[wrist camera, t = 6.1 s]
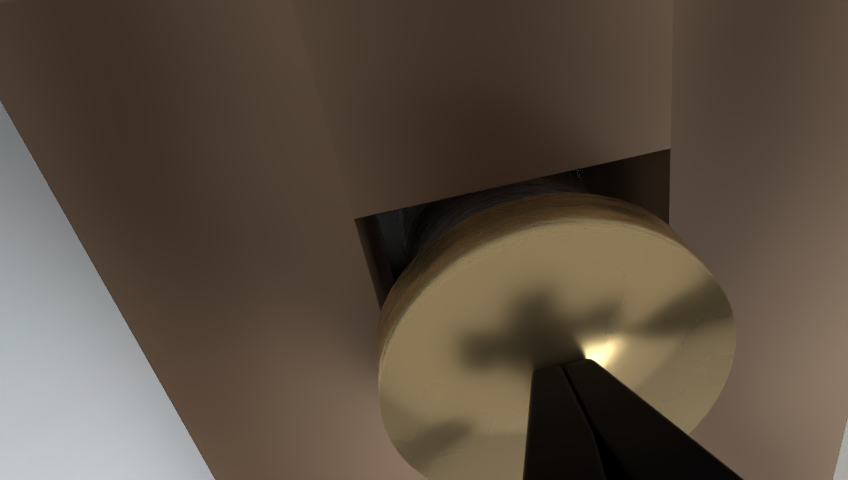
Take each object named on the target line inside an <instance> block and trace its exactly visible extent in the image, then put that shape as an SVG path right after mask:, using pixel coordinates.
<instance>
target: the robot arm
mask: <svg viewBox="0 0 848 480" xmlns="http://www.w3.org/2000/svg"><path fill="white" fill-rule="evenodd" d="M523 480H744V479H743V478H742V477H740V476H739V475H738V474H737V473H735V472H734V471H733V470H732V469H730V468H729V467H728V466H726V465H725V464H724V463H723V462H721V461H720V460H719V459H718V458H716V457H715V456H714V455H713V454H711V453H710V452H709V451H708V450H706V449H705V448H704V447H703V446H701V445H700V444H699V443H698V442H696V441H695V440H694V439H693V438H691V437H690V436H689V435H687V434H686V433H685V432H684V431H682V430H681V429H680V428H679V427H677V426H676V425H675V424H674V423H672V422H671V421H670V420H669V419H667V418H666V417H665V416H664V415H662V414H661V413H660V412H659V411H657V410H656V409H655V408H653V407H652V406H651V405H650V404H648V403H647V402H646V401H645V400H643V399H642V398H641V397H640V396H638V395H637V394H636V393H635V392H633V391H632V390H631V389H630V388H628V387H627V386H626V385H625V384H623V383H622V382H621V381H620V380H618V379H617V378H616V377H614V376H613V375H612V374H611V373H609V372H608V371H607V370H606V369H604V368H603V367H602V366H601V365H599V364H598V363H597V362H596V361H594V360H592V359H583V360H579V361H574V362H570V363H566V364H565V365H564V366H563V367H562V368H561V367H560V366H558V365H557V366H551V367H547V368H542V369H538V370H535V371H534V372H533V373H532V378H531V389H530V401H529V412H528V424H527V435H526V447H525V458H524V469H523Z"/></svg>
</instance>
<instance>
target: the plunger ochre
mask: <svg viewBox="0 0 848 480" xmlns="http://www.w3.org/2000/svg"><path fill="white" fill-rule="evenodd" d="M398 213H399V219H400V225H401V231H402V237H403V242H404V248H405V254H406V260H407V267H406V268H405V269H404V270H403V272H402V273H401V275H400V276H399V278H398V279H397V281H396V282H395V284H394V285H393V287H392V288H391V290H390V292H389V294H388V296H387V299H386V301H385V303H384V305H383V307H382V311H381V314H380V317H379V320H378V324H377V331H376V338H375V353H376V368H377V380H378V392H379V404H380V411H381V416H382V420H383V425H384V427H385V429H386V432H387V434H388V436H389V439H390V441H391V442H392V444H393V445H394V447H395V448H396V450H397V451H398V453H399V454H400V455H401V456H402V457H403V458H404V459H405V460H406V461H407V463H408V464H409V465H410V466H412V467H413V468H414V469H415V470H417V471H418V472H419V473H421V474H422V475H423V476H425V477H426V478H428V479H430V480H523V469H524V458H525V447H526V435H527V424H528V412H529V401H530V389H531V378H532V373H533V372H534V371H535V370H538V369H542V368H547V367H551V366H557V365H558V366H560V367H561V368H562V367H563V366H564V365H565V364H566V363H570V362H574V361H579V360H583V359H592V360H594V361H596V362H597V363H598V364H599V365H601V366H602V367H603V368H604V369H606V370H607V371H608V372H609V373H611V374H612V375H613V376H614V377H616V378H617V379H618V380H620V381H621V382H622V383H623V384H625V385H626V386H627V387H628V388H630V389H631V390H632V391H633V392H635V393H636V394H637V395H638V396H640V397H641V398H642V399H643V400H645V401H646V402H647V403H648V404H650V405H651V406H652V407H653V408H655V409H656V410H657V411H659V412H660V413H661V414H662V415H664V416H665V417H666V418H667V419H669V420H670V421H671V422H672V423H674V424H675V425H676V426H677V427H679V428H680V429H681V430H682V431H684V432H685V433H686V434H687V435H688V434H689V433H690V432H691V431H692V430H693V429H694V428H695V427H696V426H697V425H698V424H699V423H700V421H701V420H702V419H703V418H704V417H705V415H706V414H707V413H708V412H709V410H710V409H711V407H712V406H713V404H714V403H715V401H716V400H717V398H718V397H719V395H720V393H721V391H722V389H723V387H724V385H725V383H726V381H727V378H728V376H729V373H730V370H731V367H732V364H733V359H734V353H735V348H736V327H735V322H734V316H733V311H732V309H731V306H730V304H729V301H728V298H727V296H726V294H725V293H724V291H723V290H722V288H721V286H720V285H719V283H718V282H717V280H716V279H715V278H714V277H713V275H712V274H711V273H710V272H709V271H708V269H707V268H706V267H705V266H704V265H703V263H702V262H701V261H700V260H699V259H698V257H697V256H696V255H695V254H694V252H693V251H692V250H691V249H690V248H689V246H688V245H687V244H686V243H685V242H684V240H683V239H682V238H681V237H680V236H679V235H678V234H677V233H676V232H675V231H674V230H673V228H672V227H671V226H669V225H668V224H667V223H666V222H664V221H663V220H662V219H660V218H659V217H658V216H656V215H655V214H653V213H651V212H649V211H647V210H645V209H644V208H642V207H640V206H638V205H635V204H632V203H630V202H627V201H624V200H621V199H618V198H614V197H609V196H604V195H599V194H591V193H589V191H588V190H587V189H586V187H585V186H584V184H583V183H582V181H581V180H580V178H579V177H578V175H577V174H576V172H575V171H574V170H571V171H567V172H562V173H558V174H553V175H549V176H544V177H540V178H535V179H531V180H527V181H522V182H518V183H513V184H509V185H504V186H500V187H495V188H491V189H486V190H482V191H477V192H473V193H468V194H464V195H459V196H455V197H450V198H446V199H441V200H437V201H432V202H428V203H423V204H419V205H414V206H410V207H405V208H401V209H398Z"/></svg>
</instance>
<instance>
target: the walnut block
mask: <svg viewBox="0 0 848 480" xmlns="http://www.w3.org/2000/svg"><path fill="white" fill-rule="evenodd" d="M0 100H1V102H2V104H3V106H4V107H5V109H6V111H7V113H8V114H9V116H10V118H11V120H12V121H13V123H14V125H15V127H16V129H17V130H18V132H19V134H20V136H21V137H22V139H23V141H24V143H25V144H26V146H27V148H28V150H29V151H30V153H31V155H32V157H33V159H34V160H35V162H36V164H37V166H38V167H39V169H40V171H41V173H42V174H43V176H44V178H45V180H46V181H47V183H48V185H49V187H50V189H51V190H52V192H53V194H54V196H55V197H56V199H57V201H58V203H59V204H60V206H61V208H62V210H63V212H64V213H65V215H66V217H67V219H68V220H69V222H70V224H71V226H72V227H73V229H74V231H75V233H76V234H77V236H78V238H79V240H80V242H81V243H82V245H83V247H84V249H85V250H86V252H87V254H88V256H89V257H90V259H91V261H92V263H93V264H94V266H95V268H96V270H97V272H98V273H99V275H100V277H101V279H102V280H103V282H104V284H105V286H106V287H107V289H108V291H109V293H110V294H111V296H112V298H113V300H114V302H115V303H116V305H117V307H118V309H119V310H120V312H121V314H122V316H123V317H124V319H125V321H126V323H127V324H128V326H129V328H130V330H131V332H132V333H133V335H134V337H135V339H136V340H137V342H138V344H139V346H140V347H141V349H142V351H143V353H144V355H145V356H146V358H147V360H148V362H149V363H150V365H151V367H152V369H153V370H154V372H155V374H156V376H157V377H158V379H159V381H160V383H161V385H162V386H163V388H164V390H165V392H166V393H167V395H168V397H169V399H170V400H171V402H172V404H173V406H174V407H175V409H176V411H177V413H178V415H179V416H180V418H181V420H182V422H183V423H184V425H185V427H186V429H187V430H188V432H189V434H190V436H191V437H192V439H193V441H194V443H195V445H196V446H197V448H198V450H199V452H200V453H201V455H202V457H203V459H204V460H205V462H206V464H207V466H208V468H209V469H210V471H211V473H212V475H213V476H214V478H215V480H430V479H428V478H426V477H425V476H423V475H422V474H421V473H419V472H418V471H417V470H415V469H414V468H413V467H412V466H410V465H409V464H408V463H407V461H406V460H405V459H404V458H403V457H402V456H401V455H400V454H399V453H398V451H397V450H396V448H395V447H394V445H393V444H392V442H391V441H390V439H389V436H388V434H387V432H386V429H385V427H384V425H383V420H382V416H381V411H380V404H379V392H378V380H377V368H376V353H375V338H376V331H377V324H378V320H379V317H380V314H381V311H382V307H383V305H384V303H385V301H386V299H387V296H388V294H389V292H390V290H391V288H392V287H393V285H394V284H395V282H394V279H393V275H392V271H391V267H390V264H389V260H388V256H387V252H386V248H385V245H384V241H383V237H382V233H381V230H380V226H379V222H378V218H377V214H378V213H383V212H387V211H392V210H396V209H401V208H405V207H410V206H414V205H419V204H423V203H428V202H432V201H437V200H441V199H446V198H450V197H455V196H459V195H464V194H468V193H473V192H477V191H482V190H486V189H491V188H495V187H500V186H504V185H509V184H513V183H518V182H522V181H527V180H531V179H535V178H540V177H544V176H549V175H553V174H558V173H562V172H567V171H571V170H576V169H580V168H581V173H582V183H583V184H584V186H585V187H586V189H587V190H588V191H589V193H591V194H599V195H604V196H609V197H614V198H618V199H621V200H624V201H627V202H630V203H632V204H635V205H638V206H640V207H642V208H644V209H645V210H647V211H649V212H651V213H653V214H655V215H656V216H658V217H659V218H660V219H662V220H663V221H664V222H666V223H667V224H668V225H669V226H671V227H672V228H673V230H674V231H675V232H676V233H677V234H678V235H679V236H680V237H681V238H682V239H683V240H684V242H685V243H686V244H687V245H688V246H689V248H690V249H691V250H692V251H693V252H694V254H695V255H696V256H697V257H698V259H699V260H700V261H701V262H702V263H703V265H704V266H705V267H706V268H707V269H708V271H709V272H710V273H711V274H712V275H713V277H714V278H715V279H716V280H717V282H718V283H719V285H720V286H721V288H722V290H723V291H724V293H725V294H726V296H727V298H728V301H729V304H730V306H731V309H732V311H733V316H734V322H735V327H736V348H735V353H734V359H733V364H732V367H731V370H730V373H729V376H728V378H727V381H726V383H725V385H724V387H723V389H722V391H721V393H720V395H719V397H718V398H717V400H716V401H715V403H714V404H713V406H712V407H711V409H710V410H709V412H708V413H707V414H706V415H705V417H704V418H703V419H702V420H701V421H700V423H699V424H698V425H697V426H696V427H695V428H694V429H693V430H692V431H691V432H690V433H689V434H688V435H689V436H690V437H691V438H693V439H694V440H695V441H696V442H698V443H699V444H700V445H701V446H703V447H704V448H705V449H706V450H708V451H709V452H710V453H711V454H713V455H714V456H715V457H716V458H718V459H719V460H720V461H721V462H723V463H724V464H725V465H726V466H728V467H729V468H730V469H732V470H733V471H734V472H735V473H737V474H738V475H739V476H740V477H742V478H743V479H744V480H833V476H834V472H835V468H836V464H837V460H838V455H839V451H840V447H841V443H842V439H843V434H844V430H845V426H846V422H847V418H848V0H0Z"/></svg>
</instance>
